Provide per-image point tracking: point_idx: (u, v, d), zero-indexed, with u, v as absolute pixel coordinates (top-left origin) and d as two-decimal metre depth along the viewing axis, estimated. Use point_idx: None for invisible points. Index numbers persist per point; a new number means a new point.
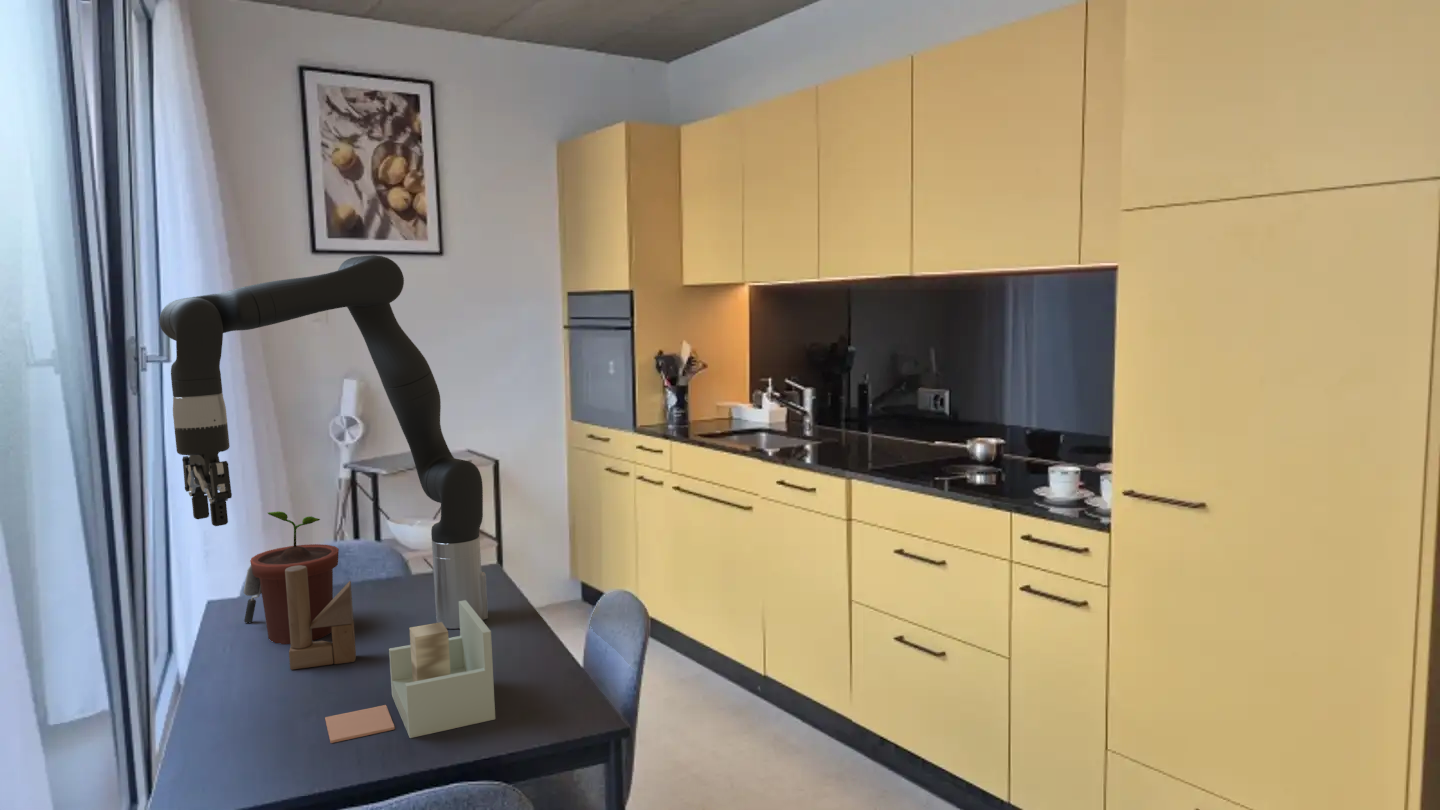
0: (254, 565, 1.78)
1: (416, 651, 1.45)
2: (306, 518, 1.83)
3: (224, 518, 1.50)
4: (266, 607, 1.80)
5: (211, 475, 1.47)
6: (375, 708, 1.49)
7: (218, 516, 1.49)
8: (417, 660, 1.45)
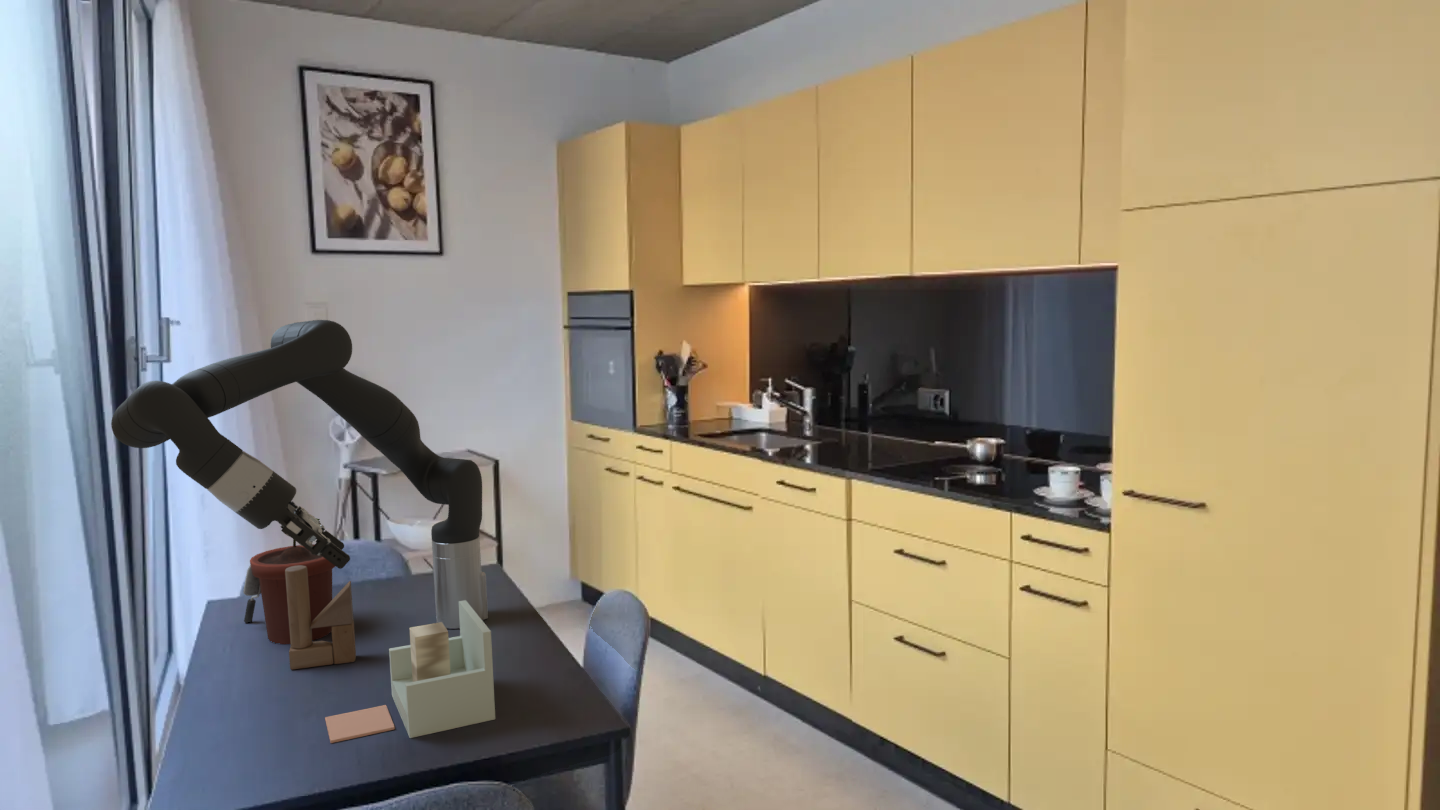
0: (253, 565, 1.78)
1: (416, 651, 1.45)
2: None
3: (342, 558, 1.36)
4: (265, 607, 1.80)
5: (293, 538, 1.32)
6: (375, 708, 1.49)
7: (335, 561, 1.36)
8: (417, 660, 1.45)
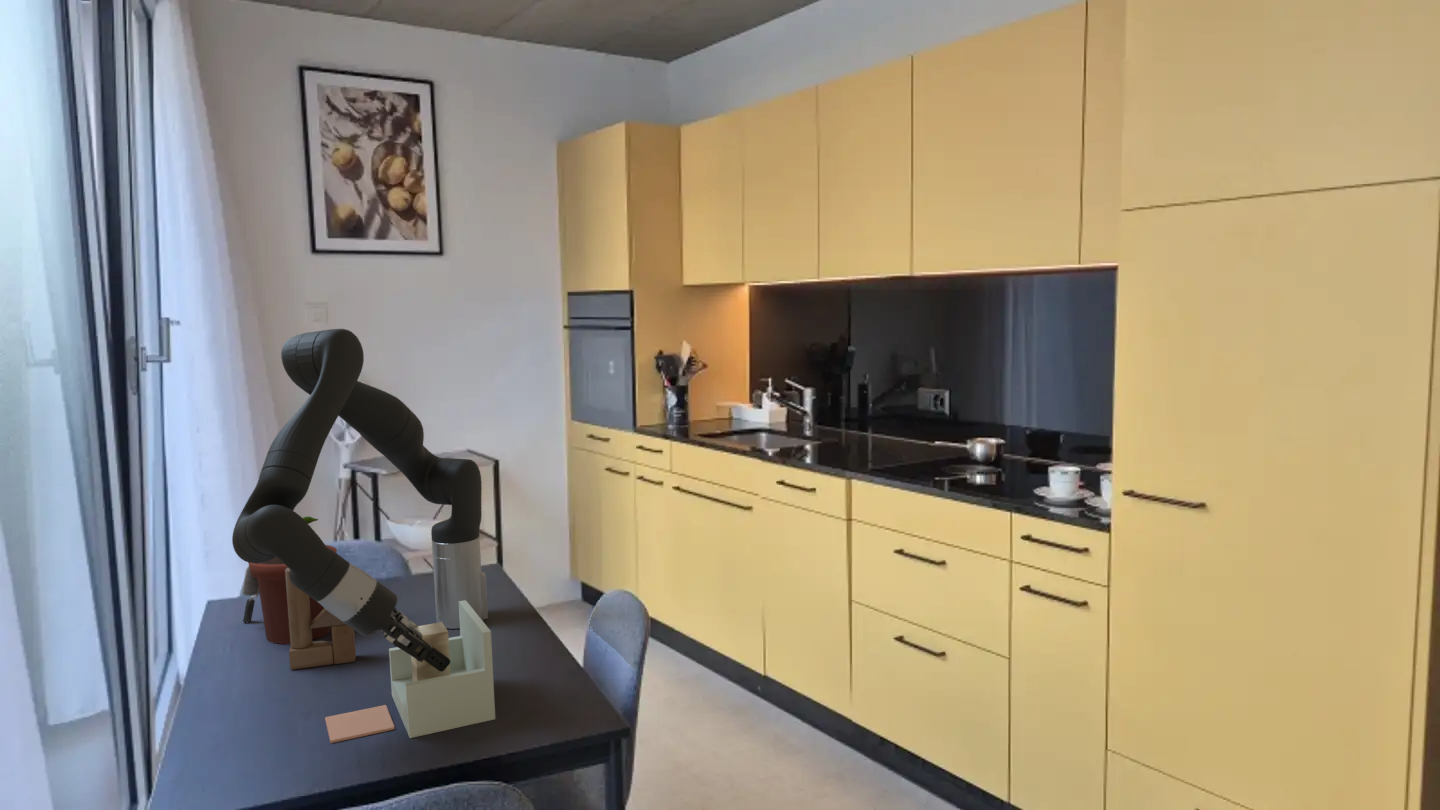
0: (252, 565, 1.78)
1: None
2: (304, 518, 1.83)
3: (443, 662, 1.46)
4: (264, 607, 1.80)
5: (402, 649, 1.40)
6: (375, 708, 1.49)
7: (437, 665, 1.45)
8: (417, 660, 1.45)
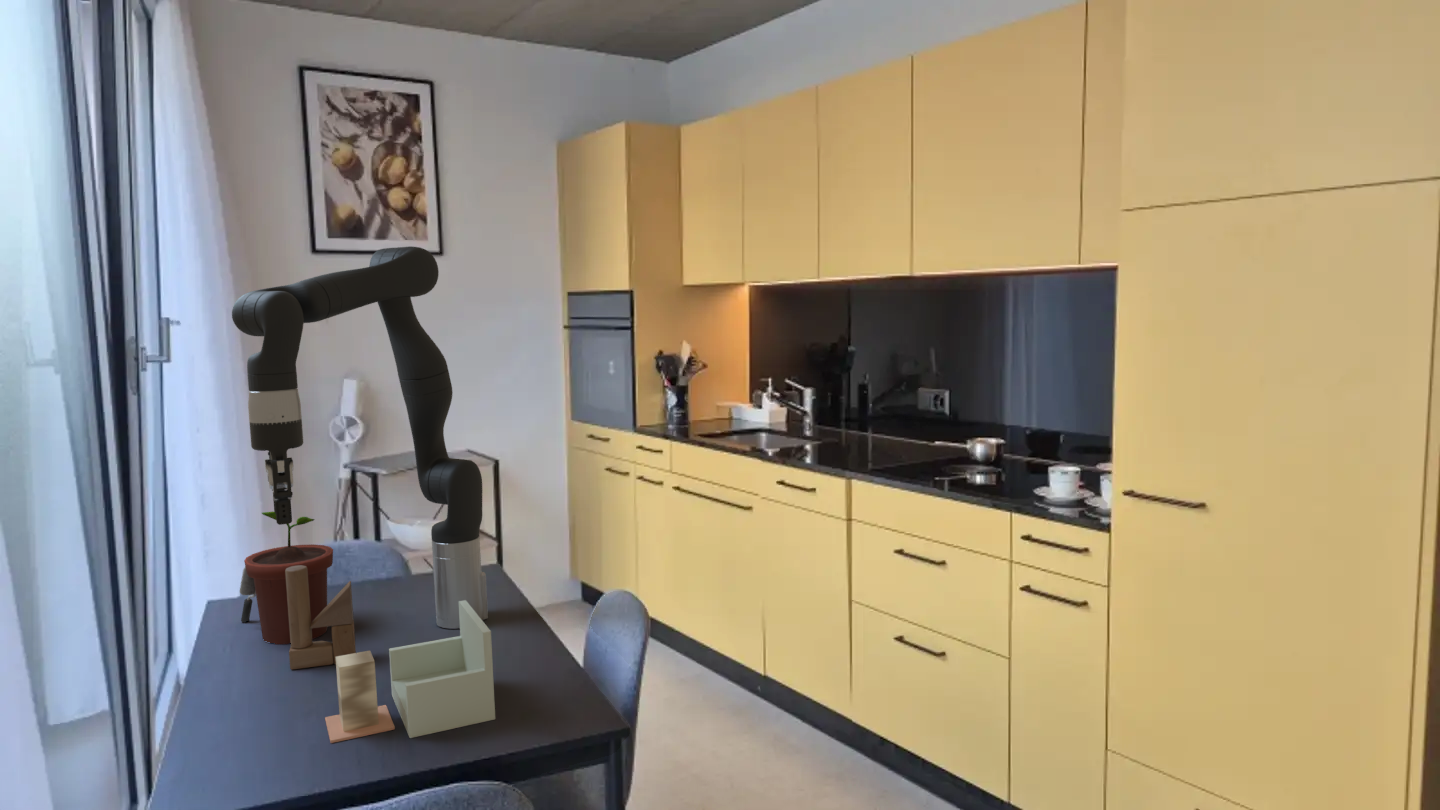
0: (247, 565, 1.78)
1: (340, 682, 1.40)
2: (300, 518, 1.83)
3: (287, 517, 1.46)
4: (260, 607, 1.80)
5: (272, 473, 1.44)
6: None
7: (280, 515, 1.46)
8: (342, 691, 1.40)
